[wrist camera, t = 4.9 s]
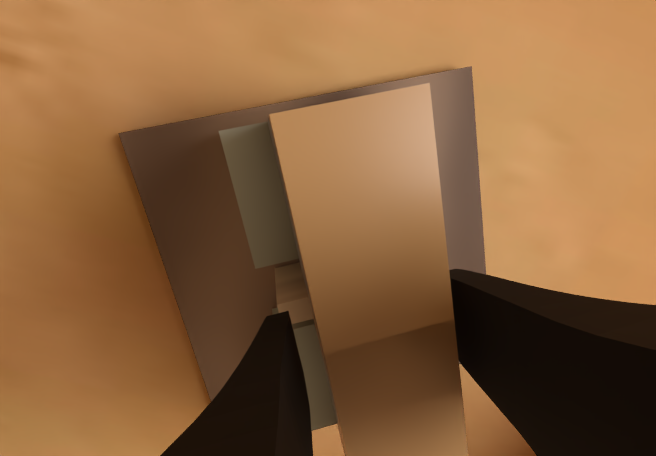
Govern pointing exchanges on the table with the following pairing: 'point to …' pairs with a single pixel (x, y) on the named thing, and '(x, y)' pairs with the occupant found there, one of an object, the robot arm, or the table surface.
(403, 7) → the table surface
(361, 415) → the grey tan long block
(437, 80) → the display stand
